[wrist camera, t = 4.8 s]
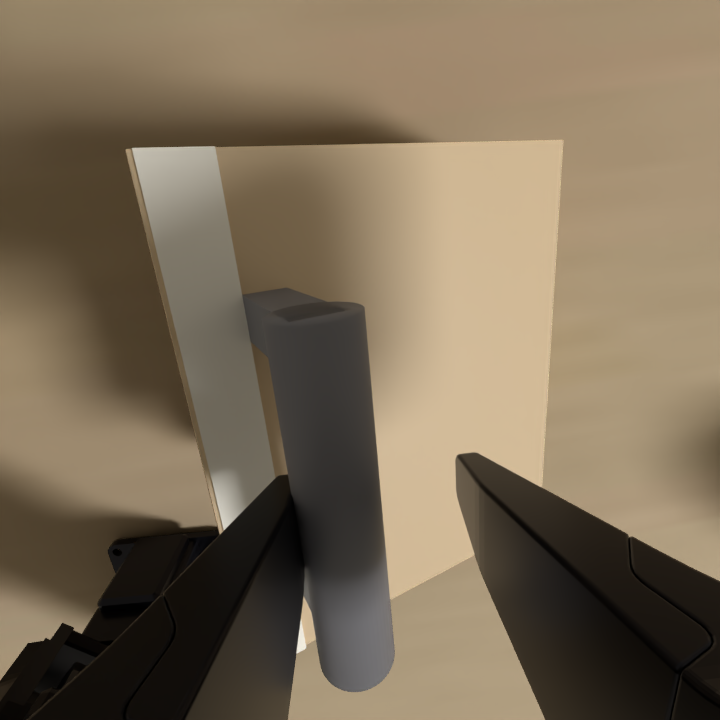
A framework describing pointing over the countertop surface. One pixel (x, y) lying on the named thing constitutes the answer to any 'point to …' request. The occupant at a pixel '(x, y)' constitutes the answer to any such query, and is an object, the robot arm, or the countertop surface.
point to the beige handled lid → (358, 348)
